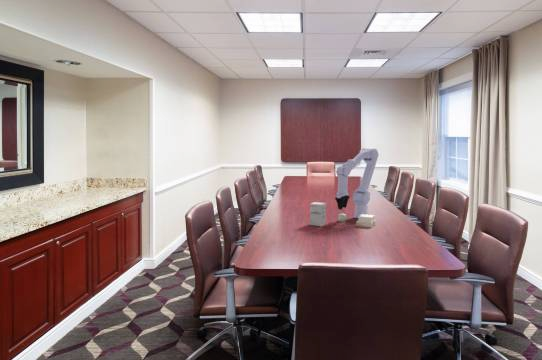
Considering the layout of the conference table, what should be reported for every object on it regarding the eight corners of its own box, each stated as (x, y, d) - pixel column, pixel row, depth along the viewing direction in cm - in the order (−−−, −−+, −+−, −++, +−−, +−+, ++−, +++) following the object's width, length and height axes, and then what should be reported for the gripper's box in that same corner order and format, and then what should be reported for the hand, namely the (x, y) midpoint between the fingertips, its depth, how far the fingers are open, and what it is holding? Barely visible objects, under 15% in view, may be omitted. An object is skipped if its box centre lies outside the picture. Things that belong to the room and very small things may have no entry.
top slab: (361, 219, 229) (362, 214, 229) (374, 220, 226) (374, 215, 226) (358, 221, 223) (358, 216, 223) (371, 222, 219) (371, 217, 219)
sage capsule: (339, 219, 240) (339, 213, 239) (346, 220, 237) (347, 214, 237) (337, 221, 236) (337, 214, 235) (344, 221, 234) (344, 215, 233)
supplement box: (309, 225, 225) (309, 203, 223) (314, 222, 231) (314, 201, 230) (321, 226, 221) (321, 204, 220) (326, 224, 228) (326, 202, 226)
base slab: (360, 223, 231) (360, 218, 230) (375, 225, 226) (376, 220, 226) (356, 226, 223) (356, 221, 222) (371, 228, 219) (372, 223, 218)
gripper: (340, 184, 242) (339, 206, 244) (332, 186, 230) (331, 209, 231) (351, 185, 239) (350, 207, 241) (343, 187, 226) (343, 210, 228)
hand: (342, 208), depth 236 cm, fingers open, 7 cm apart
